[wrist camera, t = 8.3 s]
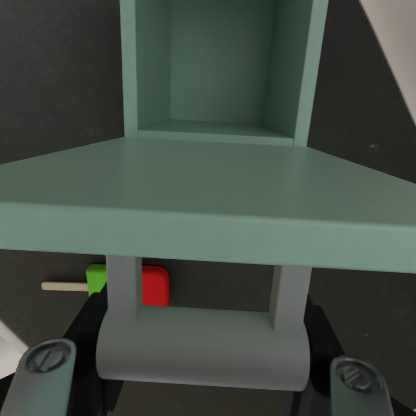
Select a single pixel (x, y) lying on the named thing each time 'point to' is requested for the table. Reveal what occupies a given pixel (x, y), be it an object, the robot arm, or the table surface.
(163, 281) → the popsicle
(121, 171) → the lid
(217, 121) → the pale green hollow box
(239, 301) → the table surface
